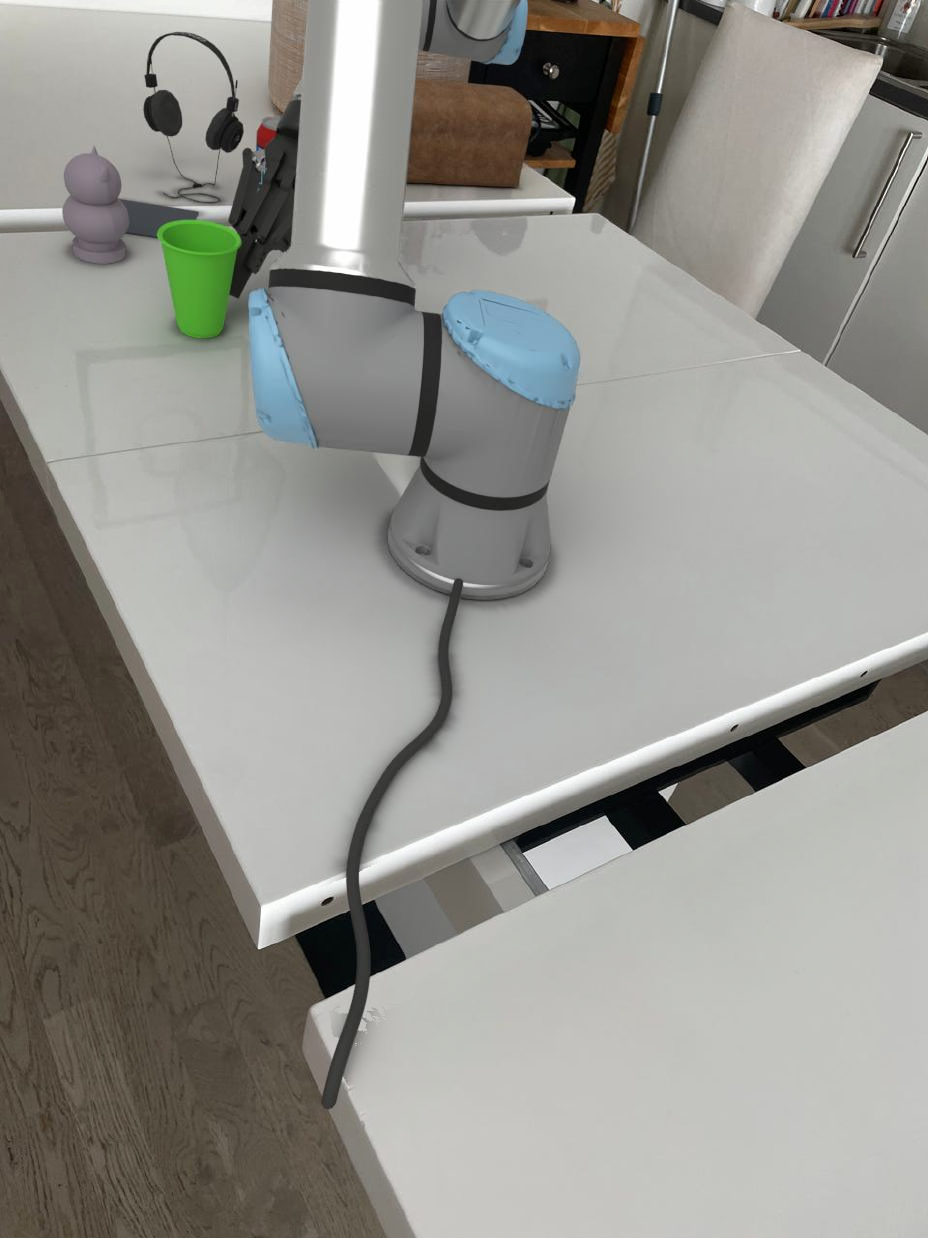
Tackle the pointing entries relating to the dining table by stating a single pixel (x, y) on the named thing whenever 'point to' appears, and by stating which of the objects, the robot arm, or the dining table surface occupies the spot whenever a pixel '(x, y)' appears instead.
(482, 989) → the dining table surface
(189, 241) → the cup
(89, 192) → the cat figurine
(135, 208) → the placemat
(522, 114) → the bread
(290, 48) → the planter
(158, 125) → the headphones
